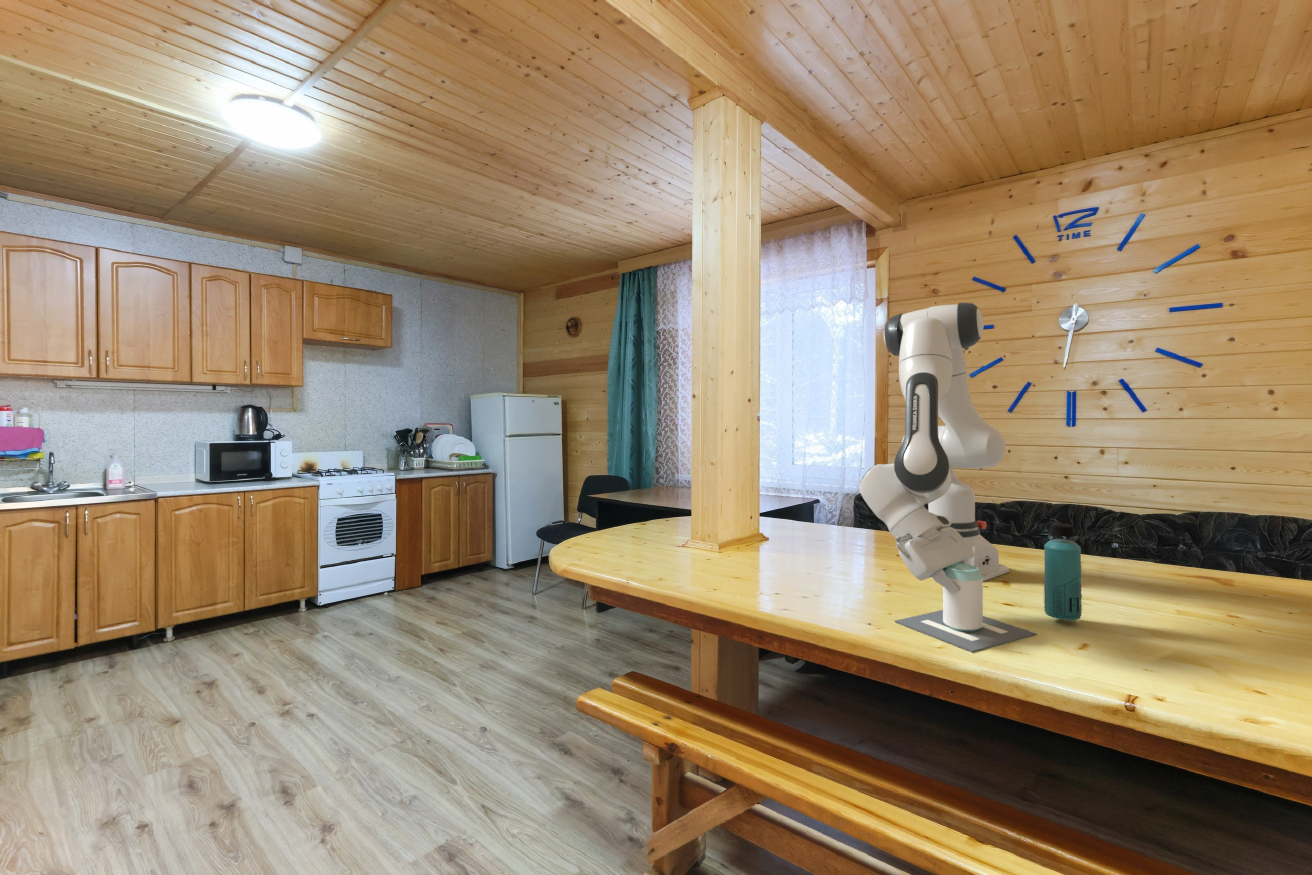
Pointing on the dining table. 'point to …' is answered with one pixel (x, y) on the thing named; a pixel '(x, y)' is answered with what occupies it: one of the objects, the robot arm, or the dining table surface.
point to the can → (964, 598)
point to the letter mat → (970, 641)
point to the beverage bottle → (1062, 575)
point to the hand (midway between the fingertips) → (966, 587)
